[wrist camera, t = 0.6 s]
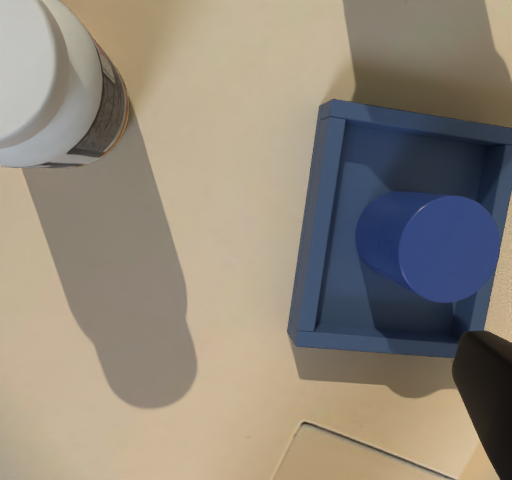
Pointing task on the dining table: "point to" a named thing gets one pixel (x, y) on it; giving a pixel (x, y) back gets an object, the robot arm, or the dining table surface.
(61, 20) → the pill bottle
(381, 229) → the blue cylinder
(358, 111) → the blue tray
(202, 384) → the dining table surface
